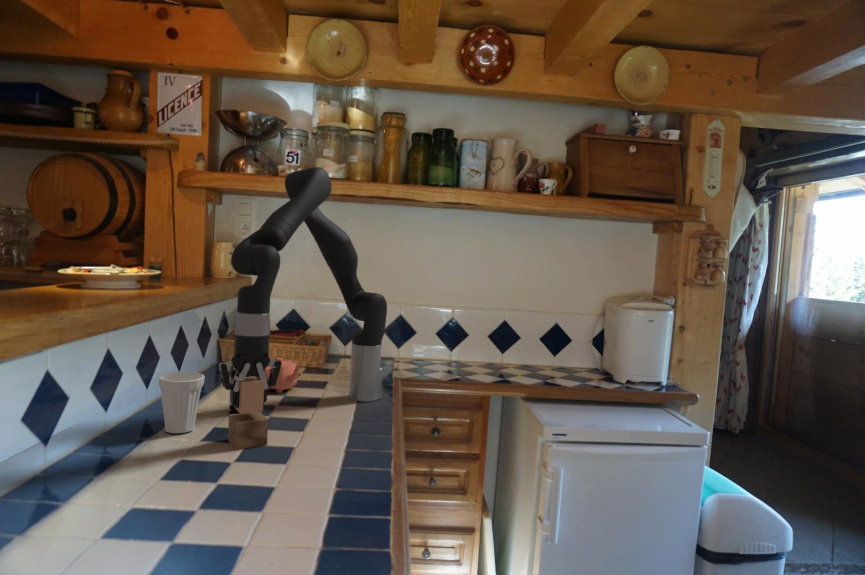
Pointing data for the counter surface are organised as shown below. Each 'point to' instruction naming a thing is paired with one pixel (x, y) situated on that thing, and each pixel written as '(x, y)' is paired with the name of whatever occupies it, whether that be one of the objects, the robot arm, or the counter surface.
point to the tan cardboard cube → (251, 395)
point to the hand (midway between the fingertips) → (248, 405)
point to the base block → (247, 430)
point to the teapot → (284, 375)
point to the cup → (180, 399)
